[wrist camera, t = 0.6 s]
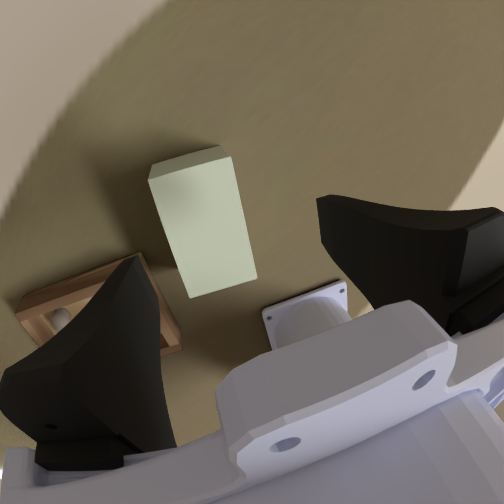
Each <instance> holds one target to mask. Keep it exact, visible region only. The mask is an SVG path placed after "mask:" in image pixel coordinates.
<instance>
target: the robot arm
mask: <svg viewBox="0 0 504 504" xmlns="http://www.w3.org/2000/svg"><path fill="white" fill-rule="evenodd" d="M316 202H317V209H318V217H319V225H320V234H321V243H322V244H323V246H324V247H325V249H326V251H327V252H328V254H329V255H330V257H331V258H332V259H333V261H334V262H335V263H336V264H337V265H338V266H339V268H340V269H341V270H342V271H343V272H344V273H345V274H346V275H347V277H348V278H349V279H350V280H351V281H352V282H353V283H354V284H355V286H356V287H357V288H358V289H359V290H360V291H361V292H362V293H363V295H364V296H365V297H366V298H367V300H368V301H369V302H370V304H371V305H372V307H373V308H374V311H371V312H369V313H367V314H364V315H362V316H360V317H357V318H355V319H353V320H352V318H351V317H350V316H349V314H348V313H347V284H346V282H345V281H344V280H339V281H337V282H334V283H332V284H329V285H327V286H324V287H321V288H319V289H316V290H314V291H311V292H308V293H306V294H303V295H300V296H298V297H295V298H292V299H289V300H287V301H284V302H281V303H278V304H276V305H273V306H270V307H267V308H265V309H263V310H262V317H263V320H264V324H265V327H266V330H267V334H268V337H269V341H270V344H271V348H272V351H270V352H267V353H264V354H261V355H259V356H257V357H255V358H253V359H251V360H249V361H247V362H245V363H243V364H242V365H240V366H238V367H236V368H234V369H232V370H231V371H230V372H229V374H228V375H227V376H226V377H225V378H224V380H223V381H222V382H221V383H220V385H219V386H218V387H217V388H216V389H215V395H216V406H217V411H218V415H219V420H220V424H221V429H220V430H218V431H216V432H213V433H211V434H209V435H207V436H204V437H202V438H200V439H198V440H195V441H193V442H190V443H188V444H186V445H183V446H181V447H177V445H176V442H175V439H174V435H173V431H172V427H171V423H170V419H169V414H168V410H167V405H166V400H165V394H164V388H163V382H162V375H161V363H160V309H159V302H158V296H157V294H156V292H155V290H154V288H153V285H152V283H151V281H150V279H149V277H148V275H147V273H146V271H145V269H144V267H143V265H142V262H141V260H140V258H139V256H138V255H136V256H133V257H130V258H127V259H125V260H123V261H122V262H121V263H120V264H119V265H118V266H117V267H116V269H115V270H114V271H113V272H112V274H111V275H110V276H109V277H108V279H107V280H106V281H105V282H104V284H103V285H102V286H101V287H100V289H99V290H98V291H97V292H96V293H95V295H94V296H93V297H92V298H91V299H90V301H89V302H88V303H87V304H86V305H85V307H84V308H83V309H82V310H81V311H80V312H79V313H78V314H77V315H76V316H75V317H74V318H73V319H72V320H71V321H70V322H69V323H68V324H67V325H66V326H65V327H64V328H62V329H61V330H60V331H59V332H58V333H57V334H56V335H54V336H53V337H52V338H51V339H50V340H49V341H47V342H46V343H45V344H43V345H42V346H41V347H39V348H38V349H37V350H35V351H34V352H33V353H31V354H30V355H28V356H27V357H25V358H23V359H22V360H20V361H19V362H17V363H15V364H14V365H12V366H10V367H9V368H7V369H5V371H4V373H3V376H2V379H1V382H0V410H1V411H2V413H3V414H4V415H5V416H6V417H7V418H8V419H9V420H10V421H11V422H12V423H13V424H14V425H15V426H17V427H18V428H19V429H20V430H22V431H23V432H24V433H25V434H27V435H28V436H29V437H31V438H32V439H33V440H35V441H36V442H37V446H36V450H33V449H31V448H26V447H7V448H6V453H5V459H4V466H3V474H2V483H1V493H0V504H504V423H503V422H502V421H501V419H500V418H499V417H498V415H497V414H496V413H495V411H494V410H493V409H494V408H495V407H496V406H497V405H498V404H499V403H500V402H501V401H502V400H503V399H504V212H503V211H501V210H499V209H497V208H494V207H489V208H480V209H472V210H459V211H458V210H456V211H434V210H417V209H408V208H400V207H394V206H388V205H383V204H378V203H373V202H368V201H364V200H359V199H355V198H350V197H345V196H340V195H327V196H323V197H320V198H316ZM341 289H342V290H341ZM269 316H270V317H269ZM267 317H269V318H267Z"/></svg>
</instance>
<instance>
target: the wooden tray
mask: <svg viewBox="0 0 504 504" xmlns="http://www.w3.org/2000/svg"><path fill="white" fill-rule="evenodd" d="M136 255H138V256H139V258H140V260H141V262H142V265H143V267H144V269H145V271H146V273H147V275H148V277H149V279H150V281H151V283H152V285H153V288H154V290H155V292H156V294H157V296H158V302H159V309H160V357H161V356H164V355H168V354H171V353H175V352H178V351H181V350H183V346H182V337H181V330H180V328H179V326H178V324H177V322H176V320H175V318H174V317H173V315H172V313H171V311H170V309H169V307H168V305H167V303H166V301H165V299H164V297H163V295H162V293H161V292H160V290H159V288H158V286H157V284H156V282H155V279H154V277H153V275H152V273H151V271H150V269H149V267H148V265H147V263H146V261H145V259H144V257H143V254H142V252H138V253H135V254H133V255H130V256H127V257H124V258H122V259H119V260H116V261H113V262H111V263H108V264H105V265H102V266H100V267H97V268H94V269H92V270H89V271H86V272H84V273H81V274H79V275H76V276H73V277H71V278H68V279H66V280H63V281H60V282H58V283H55V284H53V285H50V286H48V287H45V288H43V289H40V290H38V291H35V292H33V293H30V294H28V295H25V296H23V298H22V300H21V302H20V304H19V306H18V308H17V310H16V312H15V316H16V317H17V319H18V320H19V321H20V323H21V324H22V325H23V327H24V328H25V329H26V331H27V332H28V333H29V334H30V336H31V337H32V338H33V339H34V341H35V342H36V343H37V344H38V346H39V347H41V346H42V345H43V344H45V343H46V342H47V341H49V340H50V339H51V338H52V337H53V336H54V335H56V334H57V333H58V332H59V331H60V330H61V329H62V328H64V327H65V326H66V325H67V324H68V323H69V322H70V321H71V320H72V319H73V318H74V317H75V316H76V315H77V314H78V313H79V312H80V311H81V310H82V309H83V308H84V307H85V305H86V304H87V303H88V302H89V301H90V299H91V298H92V297H93V296H94V295H95V293H96V292H97V291H98V290H99V289H100V287H101V286H102V285H103V284H104V282H105V281H106V280H107V279H108V277H109V276H110V275H111V274H112V272H113V271H114V270H115V269H116V267H117V266H118V265H119V264H120V263H121V262H122V261H123V260H125V259H127V258H130V257H133V256H136Z"/></svg>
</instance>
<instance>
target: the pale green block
mask: <svg viewBox="0 0 504 504" xmlns="http://www.w3.org/2000/svg"><path fill="white" fill-rule="evenodd" d="M148 182H149V186H150V189H151V192H152V195H153V198H154V201H155V204H156V207H157V210H158V213H159V216H160V219H161V222H162V225H163V228H164V231H165V233H166V236H167V239H168V242H169V245H170V247H171V250H172V253H173V256H174V258H175V261H176V264H177V266H178V269H179V272H180V274H181V277H182V280H183V282H184V285H185V287H186V290H187V292H188V295H189V298H193V297H197V296H200V295H204V294H207V293H211V292H214V291H217V290H221V289H224V288H228V287H231V286H234V285H238V284H241V283H244V282H248V281H251V280H254V279H257V274H256V270H255V265H254V260H253V256H252V251H251V247H250V242H249V237H248V233H247V228H246V223H245V219H244V214H243V210H242V205H241V200H240V196H239V191H238V187H237V182H236V177H235V173H234V168H233V164H232V159H231V156H230V155H229V154H228V153H227V152H226V151H225V150H224V149H223V148H222V147H221V146H220V145H219V146H215V147H212V148H208V149H204V150H200V151H197V152H193V153H189V154H186V155H182V156H179V157H175V158H172V159H169V160H165V161H162V162H159V163H156V164H153V165H152V167H151V170H150V174H149V178H148Z"/></svg>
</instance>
